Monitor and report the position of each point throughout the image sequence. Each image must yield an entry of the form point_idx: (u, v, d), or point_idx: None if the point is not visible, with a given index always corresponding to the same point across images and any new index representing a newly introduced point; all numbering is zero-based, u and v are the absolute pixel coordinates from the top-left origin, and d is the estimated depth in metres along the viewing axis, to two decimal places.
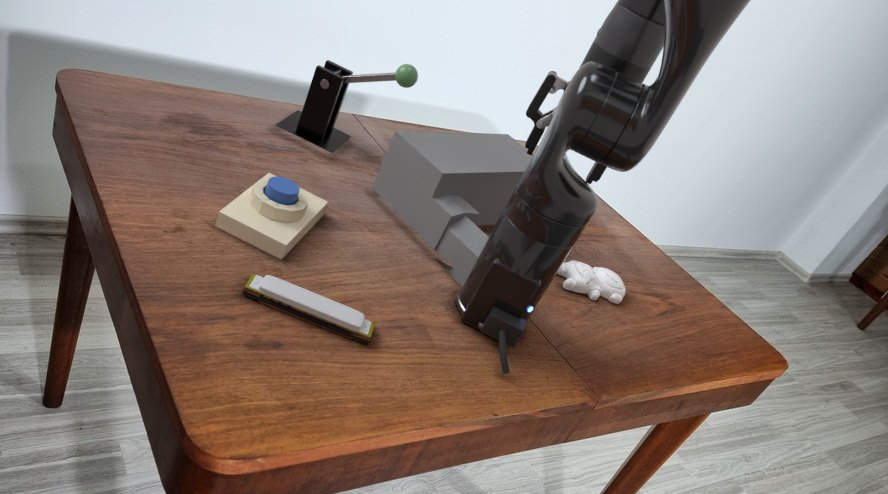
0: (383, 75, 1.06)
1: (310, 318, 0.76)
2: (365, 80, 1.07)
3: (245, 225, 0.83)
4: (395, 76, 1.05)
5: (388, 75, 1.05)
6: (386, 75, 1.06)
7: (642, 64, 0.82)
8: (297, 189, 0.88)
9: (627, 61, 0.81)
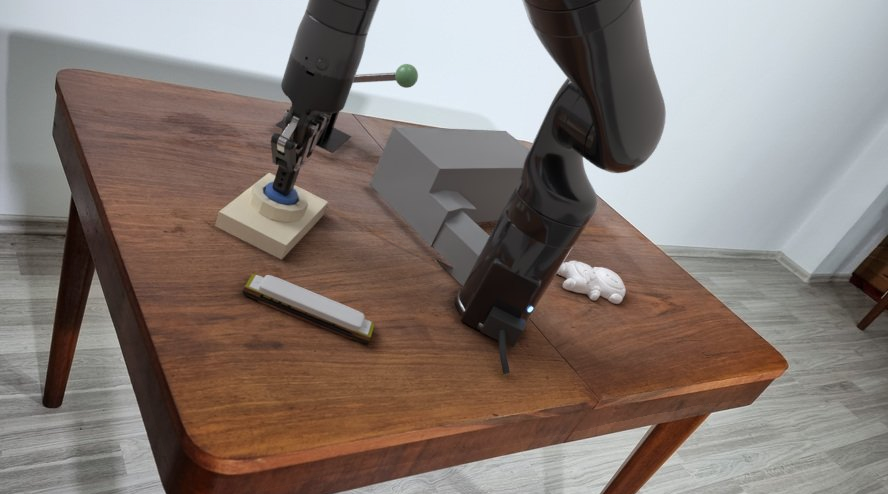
0: (383, 75, 1.06)
1: (310, 318, 0.76)
2: (365, 80, 1.07)
3: (245, 225, 0.83)
4: (395, 76, 1.05)
5: (388, 75, 1.05)
6: (386, 75, 1.06)
7: (293, 53, 0.77)
8: (295, 194, 0.88)
9: None
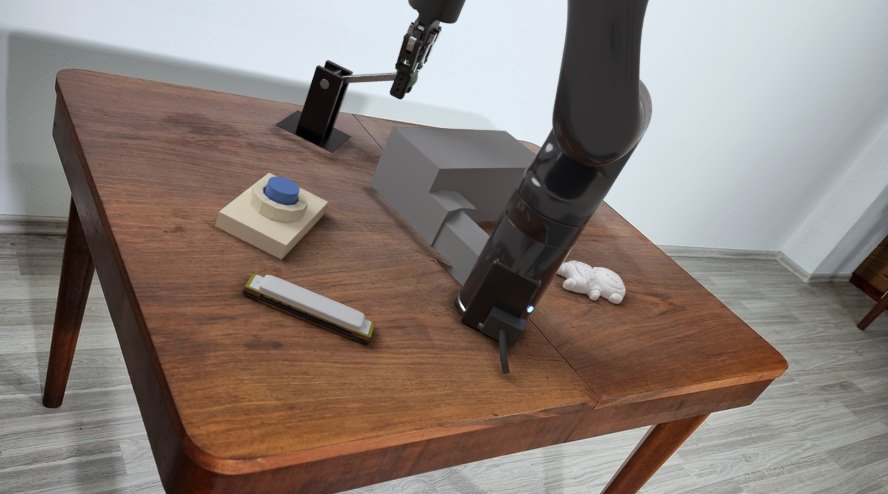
0: (383, 75, 1.06)
1: (310, 318, 0.76)
2: (365, 80, 1.07)
3: (245, 225, 0.83)
4: (395, 76, 1.05)
5: (388, 75, 1.05)
6: (386, 75, 1.06)
7: None
8: (297, 189, 0.88)
9: None
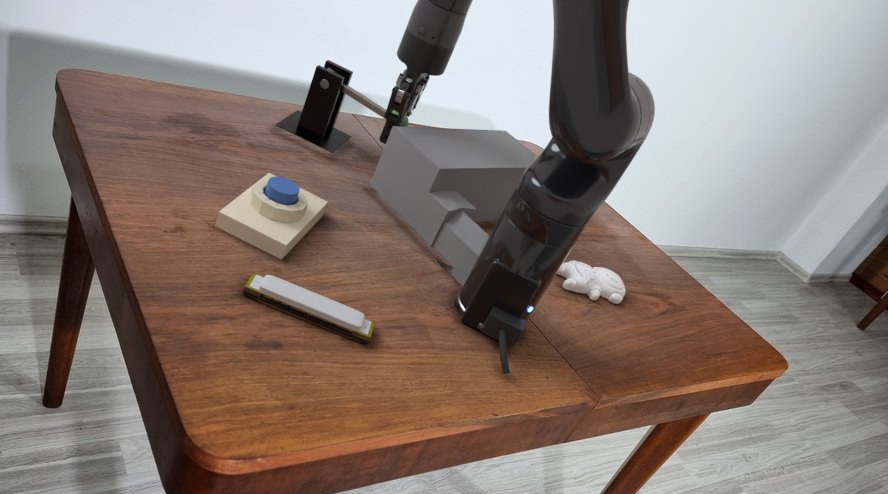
0: (378, 108, 1.08)
1: (310, 318, 0.76)
2: (360, 101, 1.09)
3: (245, 225, 0.83)
4: None
5: (383, 111, 1.08)
6: (381, 110, 1.08)
7: None
8: (297, 189, 0.88)
9: (454, 46, 1.02)
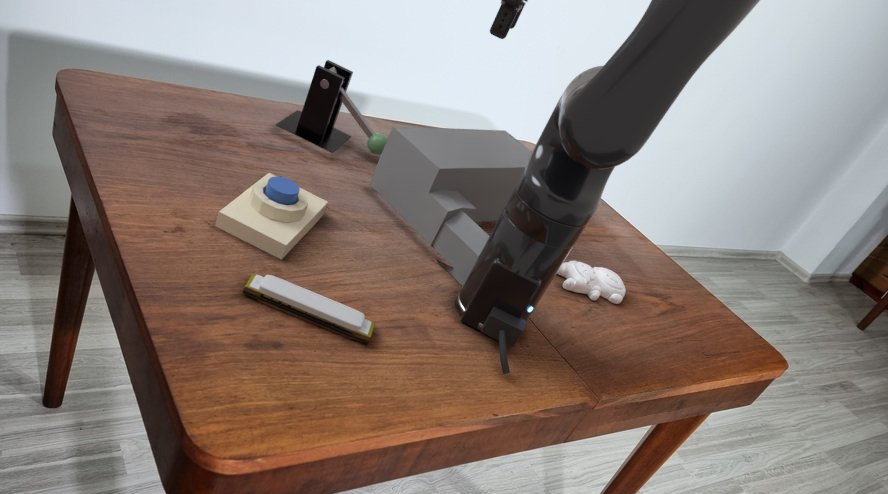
0: (365, 125, 1.10)
1: (310, 318, 0.76)
2: (351, 112, 1.10)
3: (245, 225, 0.83)
4: (371, 137, 1.10)
5: (368, 130, 1.10)
6: (367, 128, 1.10)
7: None
8: (297, 189, 0.88)
9: None
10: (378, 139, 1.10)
